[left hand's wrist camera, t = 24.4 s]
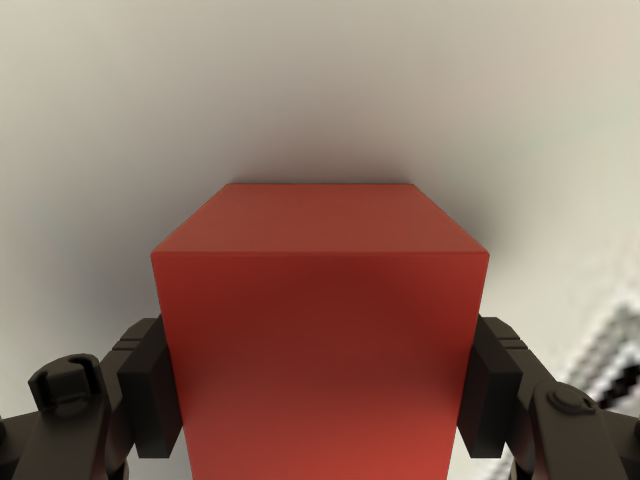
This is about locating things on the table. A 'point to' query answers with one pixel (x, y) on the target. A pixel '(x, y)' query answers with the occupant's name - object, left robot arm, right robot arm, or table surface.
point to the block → (319, 331)
